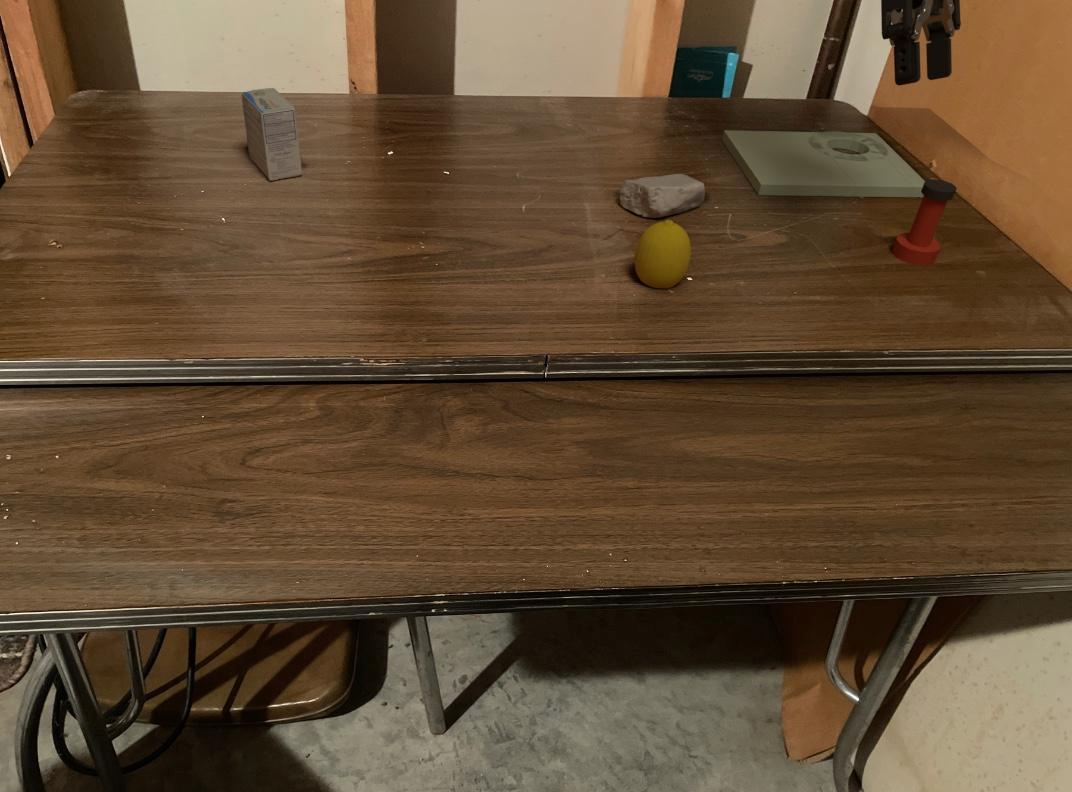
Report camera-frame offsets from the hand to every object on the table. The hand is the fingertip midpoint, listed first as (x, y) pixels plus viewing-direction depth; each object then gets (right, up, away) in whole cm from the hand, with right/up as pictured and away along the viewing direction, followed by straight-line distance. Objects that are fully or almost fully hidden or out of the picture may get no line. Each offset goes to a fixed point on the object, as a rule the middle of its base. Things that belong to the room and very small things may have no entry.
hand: (924, 81), depth 93 cm
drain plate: (0, 0, +30) cm, 30 cm away
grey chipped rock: (-23, -8, +18) cm, 30 cm away
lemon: (-27, -21, +3) cm, 34 cm away
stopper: (+3, -17, +9) cm, 20 cm away
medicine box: (-71, -2, +23) cm, 75 cm away
